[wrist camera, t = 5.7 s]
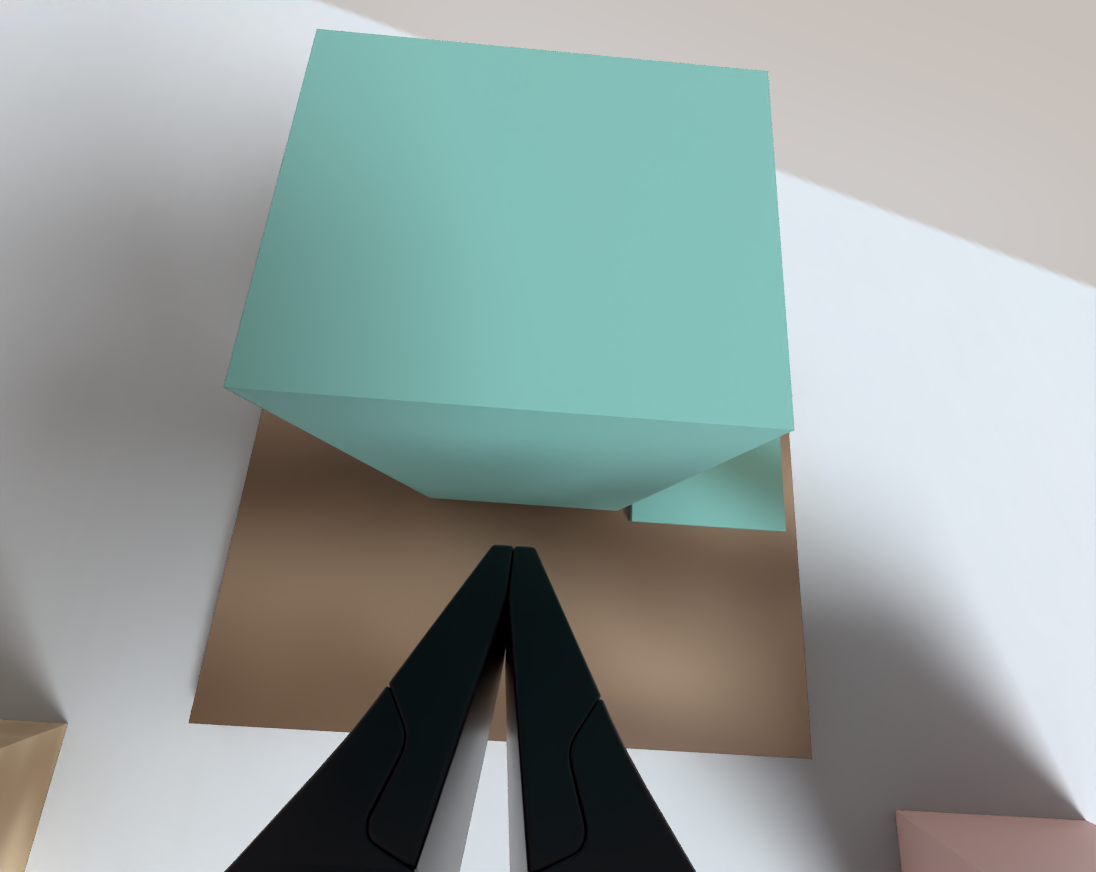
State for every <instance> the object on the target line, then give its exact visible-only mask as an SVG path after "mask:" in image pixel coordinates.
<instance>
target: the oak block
mask: <svg viewBox="0 0 1096 872" xmlns="http://www.w3.org/2000/svg"><path fill="white" fill-rule="evenodd" d="M67 724H68V723H55V722H37V721H20V720H2V719H0V872H24V871H25V868H26V864H27V861H28V858H29V854H30V851H31V847H32V844H33V840H34V837H35V834H36V830H37V827H38V823H39V820H40V817H41V813H42V810H43V806H44V803H45V799H46V796H47V793H48V789H49V786H50V782H51V779H52V775H53V772H54V769H55V765H56V762H57V758H58V755H59V752H60V748H61V745H62V741H63V738H64V734H65V731H66V728H67Z"/></svg>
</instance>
